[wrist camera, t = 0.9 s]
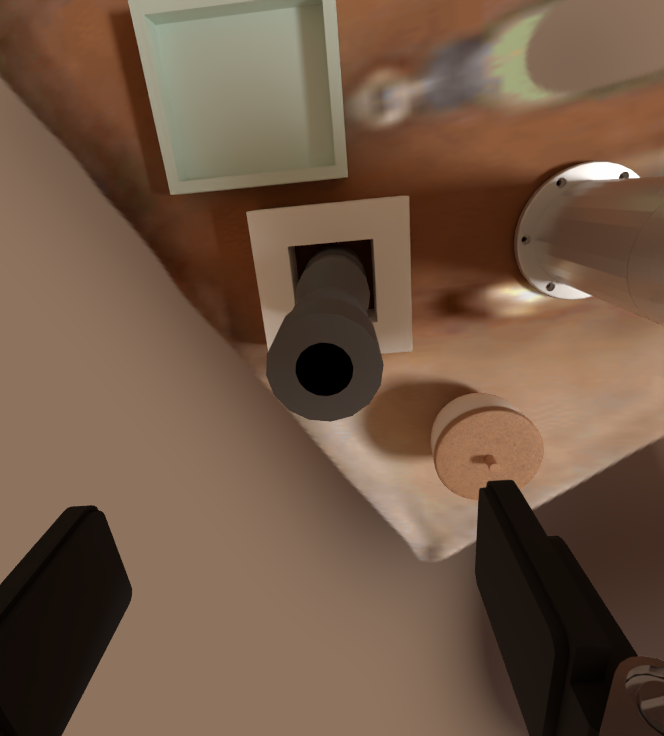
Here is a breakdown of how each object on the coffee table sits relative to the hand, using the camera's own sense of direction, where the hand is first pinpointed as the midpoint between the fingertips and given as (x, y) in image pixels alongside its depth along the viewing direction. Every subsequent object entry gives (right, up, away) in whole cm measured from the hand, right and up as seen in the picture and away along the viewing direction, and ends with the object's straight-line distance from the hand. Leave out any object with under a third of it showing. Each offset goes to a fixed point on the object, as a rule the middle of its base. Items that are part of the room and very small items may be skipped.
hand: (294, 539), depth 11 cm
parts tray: (-6, +28, +27) cm, 40 cm away
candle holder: (+1, +14, +33) cm, 36 cm away
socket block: (+1, +14, +33) cm, 36 cm away
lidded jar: (+17, -2, +39) cm, 43 cm away
